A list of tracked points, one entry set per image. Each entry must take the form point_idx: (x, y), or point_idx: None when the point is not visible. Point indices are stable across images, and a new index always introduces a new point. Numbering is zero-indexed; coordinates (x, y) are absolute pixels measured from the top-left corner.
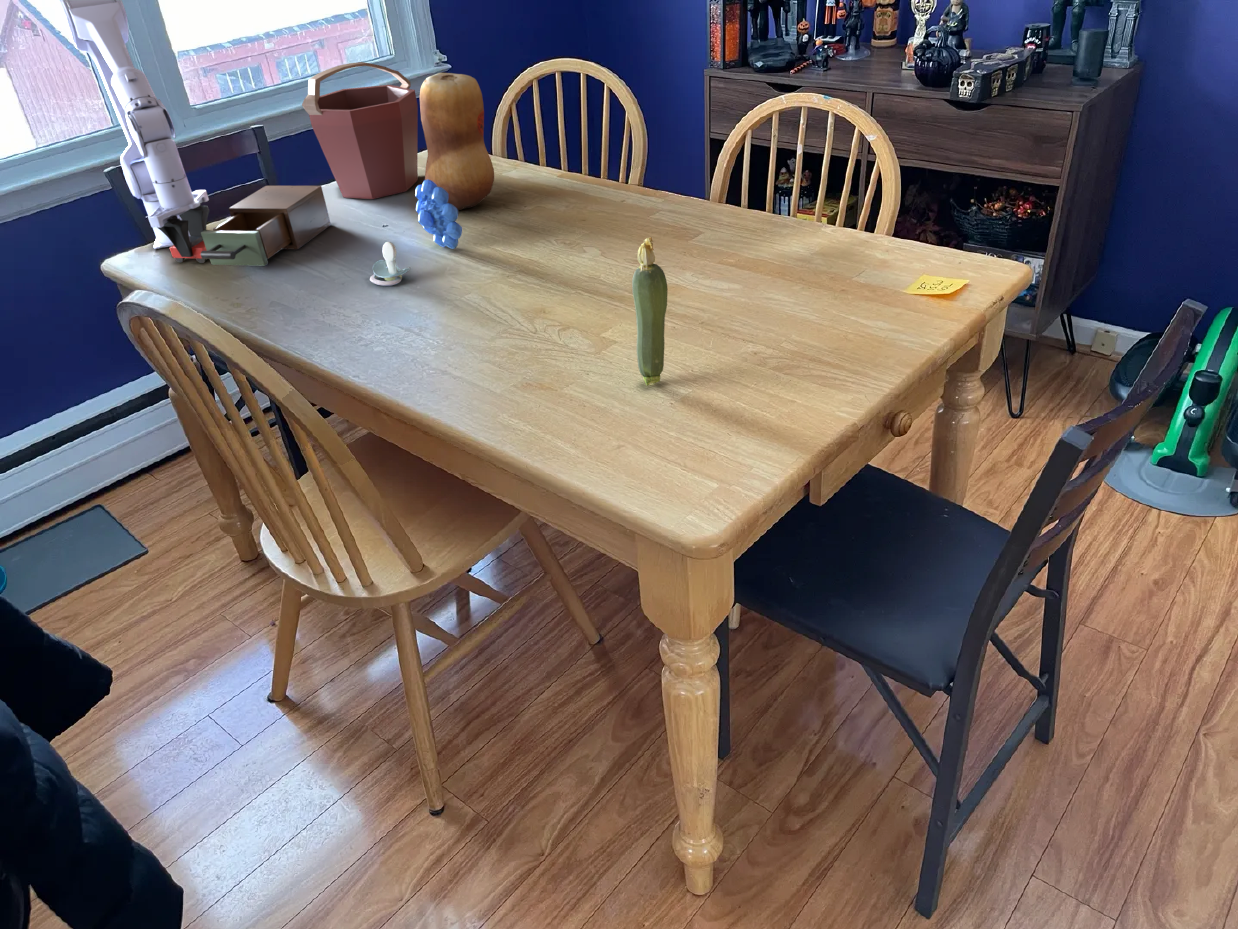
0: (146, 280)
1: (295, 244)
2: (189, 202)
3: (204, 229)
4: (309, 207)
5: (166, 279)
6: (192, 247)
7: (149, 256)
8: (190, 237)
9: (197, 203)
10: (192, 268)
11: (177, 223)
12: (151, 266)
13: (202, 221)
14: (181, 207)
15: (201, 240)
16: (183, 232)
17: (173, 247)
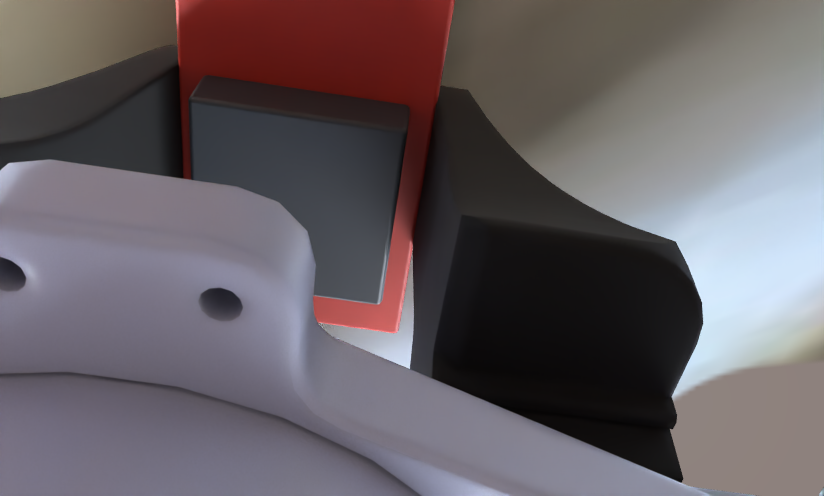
0: (768, 296)
1: None
2: (174, 423)
3: (94, 92)
4: None
5: (810, 149)
6: (421, 103)
7: None
8: None
9: (94, 214)
10: (580, 18)
11: (648, 331)
12: None
13: (58, 128)
14: (479, 474)
15: (228, 80)
16: (577, 204)
17: (397, 299)
